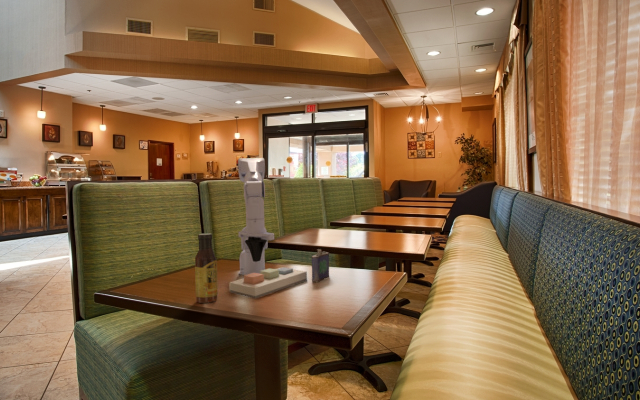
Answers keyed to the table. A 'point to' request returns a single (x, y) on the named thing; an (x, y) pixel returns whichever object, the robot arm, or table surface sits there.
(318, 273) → the flask
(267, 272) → the sage key
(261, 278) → the terracotta key
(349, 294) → the table surface
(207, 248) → the sauce bottle
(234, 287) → the keypad base
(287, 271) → the slate key
